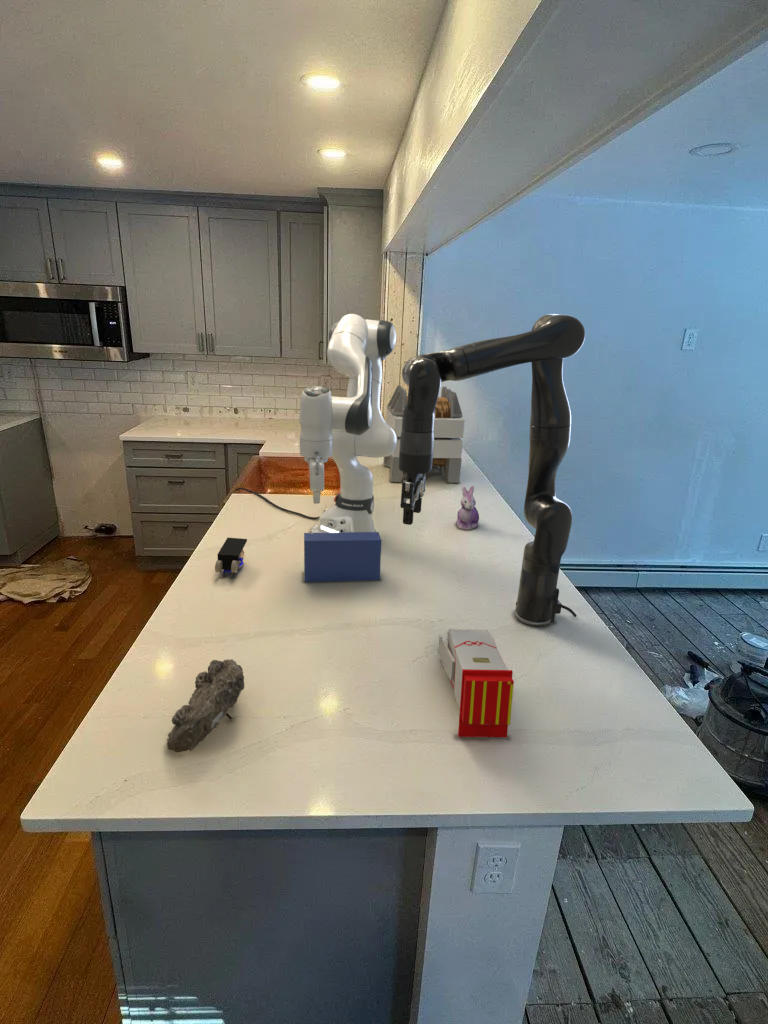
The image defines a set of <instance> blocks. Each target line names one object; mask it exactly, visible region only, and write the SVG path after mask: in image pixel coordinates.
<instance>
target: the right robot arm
mask: <svg viewBox="0 0 768 1024" xmlns="http://www.w3.org/2000/svg"><path fill="white" fill-rule="evenodd" d="M585 338H586V330H585V327H584V324H583V323H582V322H581V320H579V319H578V318H577V317H576V316H575V317H574V316H573V315H569V314H561V313H560V314H558V313H546V314H544V315H542V316H540V317H538V319H536V321H535V322H534V324H533V325H532V327H531V330H530V331H526V332H523V333H519V334H515V335H509V336H503V337H502V336H501V337H496V338H489V339H483V340H478V341H473V342H470V343H467V344H463V345H459V346H455V347H452V348H449V349H446V350H441V351H440V350H439V351H434V352H429V353H423V354H418V355H416V356H413V357H411V358H409V359H408V360H406V361H405V363H404V364H403V365H402V368H401V377H402V380H403V382H404V384H405V385H406V386H407V387H408V390H407V391H408V392H407V396H408V399H407V404H405V406H404V409H403V416H402V432H401V437H400V450H399V469H400V470H401V471H402V472H403V473H405V474H406V478H404V480H402V482H401V495H400V508H401V509H402V511H403V512H402V524H403V525H406V526H407V525H408V526H411V525H413V524H414V513H415V514H421V512H422V502H423V497H424V494H425V492H426V477H427V474H428V473H431V472H432V470H433V466H432V461H433V447H434V431H433V430H434V418H435V407H436V404H437V400H438V397H440V396H439V395H440V393H441V392H440V390H441V385H442V383H445V382H447V381H450V382H451V381H453V382H458V381H459V382H460V381H464V380H468V379H471V378H475V377H479V376H481V375H487V374H489V373H493V372H495V371H500V370H503V369H507V368H511V367H514V366H518V365H523V364H528V363H531V397H530V402H531V403H530V419H529V451H528V475H527V483H526V489H525V497H524V503H523V504H524V505H523V515H524V519H525V521H526V522H527V524H528V525H529V526H530V527H532V528H533V529H534V530H535V533H534V539H533V541H529V542H527V543H525V545H524V548H523V555H522V561H521V562H522V563H521V570H520V577H519V585H518V591H517V598H516V602H515V610H514V617H515V619H517V620H518V621H519V622H521V623H522V624H524V625H527V626H532V627H546V626H548V625H550V624H552V623H555V620H556V615H561V611H562V609H564V610H566V611H568V612H569V613H570V614H571V615H572V616H573V617H574V618H576V617H578V616H577V613H576V612H575V611H574V610H573V609H572V608H571V607H569V606H566V605H565V604H564V605H563V604H562V602H561V601H560V600H559V595H560V589H559V588H558V580H559V575H560V568H561V563H562V556H563V555H564V554H565V551H566V550H567V547H568V543H569V538H570V534H571V529H572V525H573V512H572V509H571V507H570V506H569V505H568V504H567V503H566V502H564V501H563V500H561V499H559V498H558V497H557V496H556V482H557V481H556V479H557V473H558V470H559V467H560V466H561V463H562V462H563V460H564V458H565V457H566V454H567V453H568V450H569V447H570V443H571V433H572V432H571V431H572V429H571V428H572V413H571V407H570V403H569V399H568V396H567V391H566V388H565V384H564V378H563V377H564V376H563V369H564V359H567V358H570V357H573V356H574V355H576V354H577V353H578V352H579V351H580V349H581V348H582V347H583V345H584V342H585V340H586V339H585ZM408 500H409V503H408V502H407V501H408Z"/></svg>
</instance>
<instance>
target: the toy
mask: <svg viewBox="0 0 768 1024" xmlns="http://www.w3.org/2000/svg"><path fill="white" fill-rule="evenodd" d="M446 640H447V643H446V641H445V639H444V636H443V635H442V634H439V637H438V646H437V656H438V657H439V659H440V661H441V663H442V666H443V668H444V670H445V672H446V674H447V677H448V679H449V681H450V684H451V687H452V690H453V693H454V697H455V701H456V705H457V708H458V711H459V714H458V715H459V716H458V730H457V731H458V732H457V737H458V738H508V731H509V726H510V725H511V717H512V707H513V697H514V696H513V695H514V684H515V680H514V679H513V673H514V671H513V670H512V669H508V667H507V665H506V662H505V661H504V659H503V658H502V655H501V653H500V651H499V649H498V647H497V643H496V639H495V637H494V635H493V634H491V632H490V631H489V629H467V628H466V629H465V628H463V629H461V628H460V629H459V628H448V630H447V639H446Z"/></svg>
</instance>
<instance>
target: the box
mask: <svg viewBox="0 0 768 1024" xmlns="http://www.w3.org/2000/svg"><path fill="white" fill-rule="evenodd" d="M381 560H382V538H381V534H380V532H379V531H375V532H342V533H311V532H303V567H304V568H303V576H304V582H305V583H318V582H321V583H322V582H326V583H327V582H360V581H363V582H364V581H380V580H381Z"/></svg>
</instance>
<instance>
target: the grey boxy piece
mask: <svg viewBox="0 0 768 1024" xmlns="http://www.w3.org/2000/svg"><path fill="white" fill-rule="evenodd" d="M440 393H441V394H440V396H438V400H437V404H436V407H435V418H434V430H433V431H434V447H433V461H432V467H436V468H437V470H438V469H439V473H440V474H441V475H443V478H444V479H445V481H446V482H447V483H449V484H455V483H456V484H459V483H461V472H462V461H463V460H462V453H463V442H464V441H463V440H462V439H463V438H464V431H465V430H464V429H465V419H464V418H463V411H462V408H461V405H460V402H459V398H458V395H457V392H455V391H453V390H452V389H451V388H447V386H442V387H441V392H440ZM407 399H408V392H407V390H406V389H404V388H403V387H402V385H399V384H398V385H397V386H396V388H395V390H394V392H393V394H392V395H391V398H390V400H389V402H388V404H387V405H386V413H385V414H386V415H385V422H386V423H387V424H388V425H389V426H390V427H391V428H392V429H393V430H394V432H395V434H396V436H397V446H396V449H395V451H394V452H393V453H392V454H391V455H390V456H387V457H383V466H384V467H388V468H389V475H388V476H389V477H388V478H389V480H390V482H391V483H402V482H403V475H404V472H402V471H401V470H400V469H399V450H400V437H401V432H402V416H403V409H404V406H405V404H407Z"/></svg>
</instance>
